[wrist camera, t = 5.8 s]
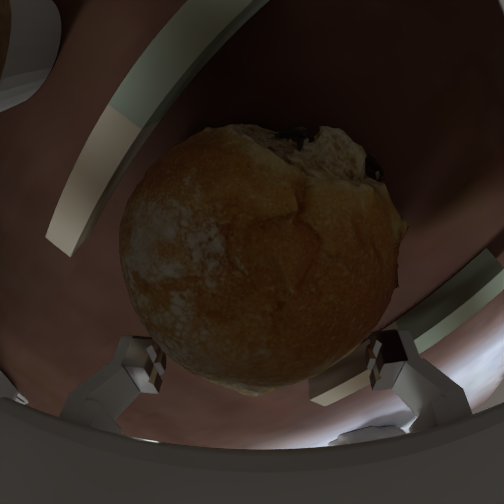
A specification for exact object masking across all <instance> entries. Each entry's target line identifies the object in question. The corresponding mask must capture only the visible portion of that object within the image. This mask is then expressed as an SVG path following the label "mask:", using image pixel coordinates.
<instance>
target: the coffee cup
mask: <svg viewBox="0 0 504 504" xmlns="http://www.w3.org/2000/svg"><path fill="white" fill-rule="evenodd" d="M60 39H61V18H60V13H59V11H58V8H57V6H56V4H55V3H54V2H53V1H52V0H0V112H2V111H4V110H6V109H8V108H11V107H13V106H15V105H17V104H20V103H22V102H24V101H26V100H27V99H29V98H30V97H31V96H33V95H34V93H35V92H36V91H37V90H38V89H39V88H40V87H41V86H42V84H43V83H44V81H45V80H46V78H47V77H48V75H49V73H50V71H51V69H52V67H53V65H54V62H55V59H56V57H57V53H58V49H59V46H60Z"/></svg>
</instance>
